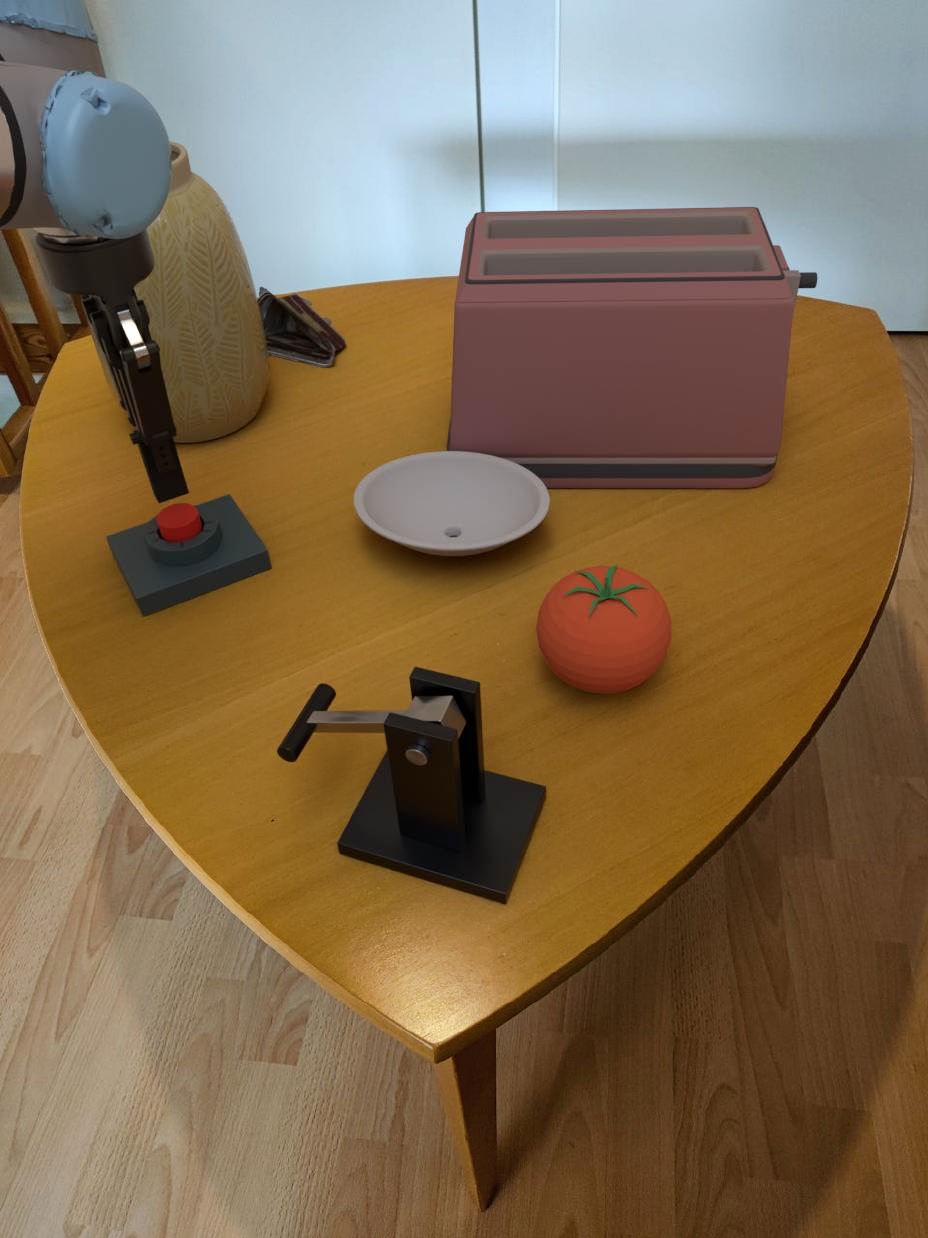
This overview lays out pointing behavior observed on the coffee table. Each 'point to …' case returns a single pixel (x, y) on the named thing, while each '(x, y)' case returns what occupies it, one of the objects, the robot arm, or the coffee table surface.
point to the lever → (361, 719)
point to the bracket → (444, 801)
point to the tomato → (603, 629)
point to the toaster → (624, 346)
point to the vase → (202, 312)
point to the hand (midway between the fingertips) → (171, 493)
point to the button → (179, 522)
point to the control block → (188, 557)
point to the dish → (451, 502)
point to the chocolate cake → (297, 330)
